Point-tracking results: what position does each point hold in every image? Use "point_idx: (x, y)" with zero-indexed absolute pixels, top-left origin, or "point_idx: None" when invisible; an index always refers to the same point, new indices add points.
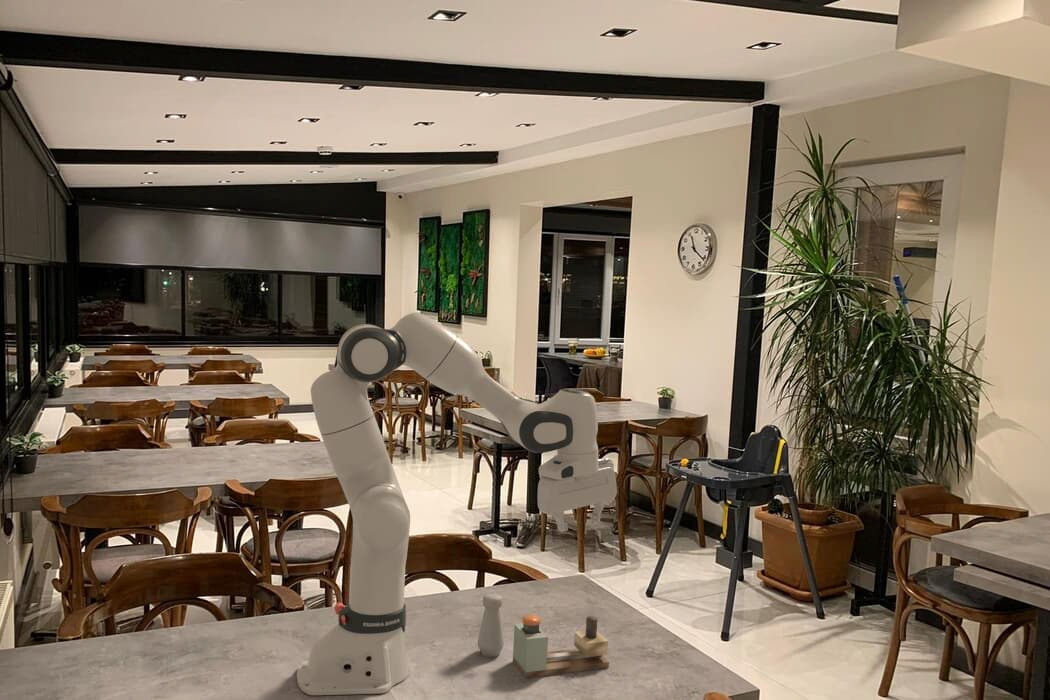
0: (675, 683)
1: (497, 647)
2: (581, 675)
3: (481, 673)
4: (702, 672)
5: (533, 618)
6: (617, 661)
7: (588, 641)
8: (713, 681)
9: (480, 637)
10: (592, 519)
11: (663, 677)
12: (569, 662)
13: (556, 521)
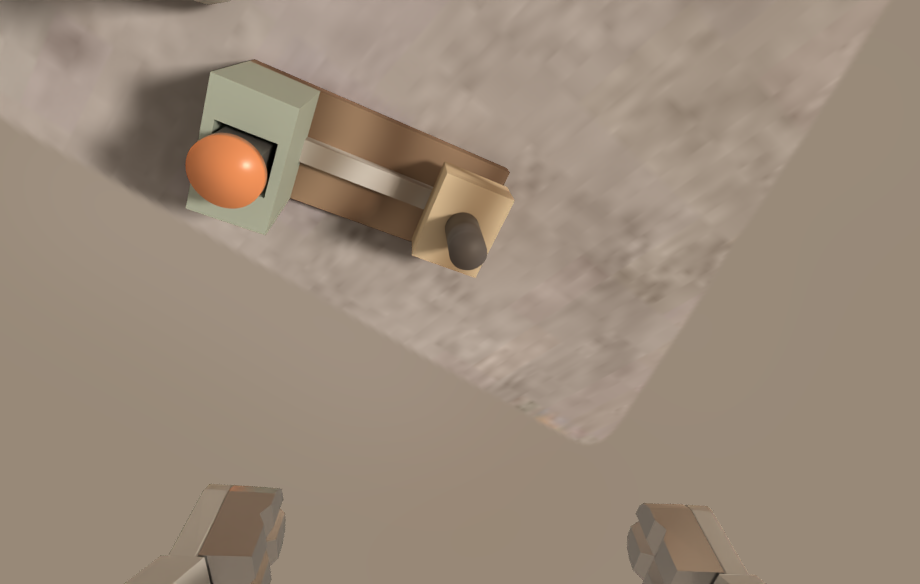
0: (518, 375)
1: (201, 2)
2: (376, 244)
3: (113, 61)
4: (604, 374)
5: (231, 179)
6: (511, 244)
7: (427, 249)
8: (582, 404)
9: None
10: (649, 543)
11: (523, 348)
12: (377, 203)
13: (144, 572)
